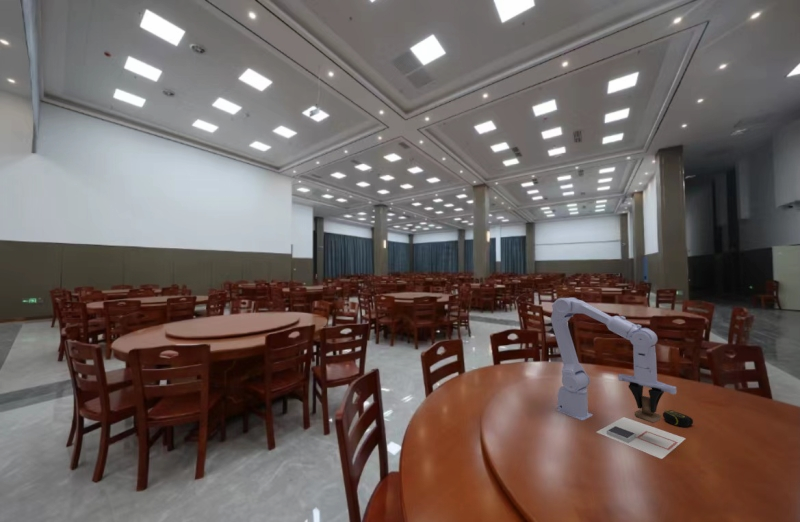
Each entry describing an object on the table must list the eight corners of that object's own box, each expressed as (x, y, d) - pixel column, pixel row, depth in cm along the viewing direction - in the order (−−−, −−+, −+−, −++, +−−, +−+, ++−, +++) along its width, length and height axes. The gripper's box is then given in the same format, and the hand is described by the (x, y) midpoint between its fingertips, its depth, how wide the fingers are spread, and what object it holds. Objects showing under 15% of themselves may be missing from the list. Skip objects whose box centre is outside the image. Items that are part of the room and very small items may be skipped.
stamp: (634, 417, 95) (633, 396, 95) (642, 413, 97) (641, 393, 98) (653, 423, 90) (652, 402, 91) (661, 420, 93) (660, 399, 93)
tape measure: (694, 427, 102) (694, 416, 102) (681, 430, 100) (681, 419, 100) (671, 418, 109) (671, 408, 109) (659, 421, 106) (658, 410, 107)
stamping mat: (596, 433, 97) (595, 427, 97) (623, 417, 108) (623, 413, 108) (661, 460, 83) (661, 454, 83) (685, 439, 94) (685, 434, 94)
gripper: (679, 370, 91) (681, 415, 90) (624, 359, 103) (625, 399, 102) (670, 374, 87) (673, 421, 86) (614, 362, 99) (616, 403, 98)
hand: (646, 409), depth 94 cm, fingers closed on stamp, 3 cm apart
